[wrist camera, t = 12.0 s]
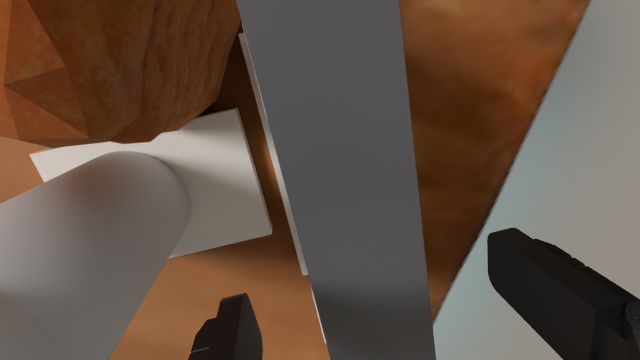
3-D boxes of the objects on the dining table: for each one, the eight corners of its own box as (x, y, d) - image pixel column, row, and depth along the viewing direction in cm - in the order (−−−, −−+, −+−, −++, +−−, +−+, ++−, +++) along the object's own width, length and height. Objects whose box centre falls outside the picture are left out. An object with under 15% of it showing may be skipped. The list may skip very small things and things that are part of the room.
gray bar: (253, 22, 13) (233, -11, 8) (346, 2, 13) (394, -45, 8) (333, 341, 19) (355, 453, 14) (396, 326, 20) (442, 429, 14)
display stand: (126, 309, 27) (-170, 773, 9) (7, 84, 21) (-1757, 193, 3) (378, 248, 28) (548, 564, 10) (341, 14, 22) (635, -246, 4)
